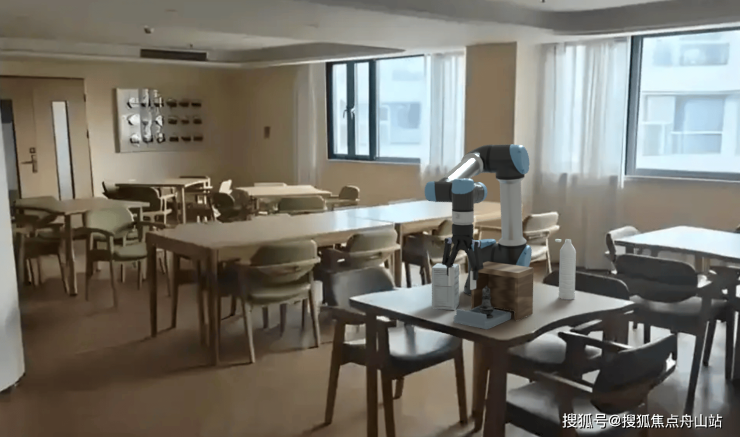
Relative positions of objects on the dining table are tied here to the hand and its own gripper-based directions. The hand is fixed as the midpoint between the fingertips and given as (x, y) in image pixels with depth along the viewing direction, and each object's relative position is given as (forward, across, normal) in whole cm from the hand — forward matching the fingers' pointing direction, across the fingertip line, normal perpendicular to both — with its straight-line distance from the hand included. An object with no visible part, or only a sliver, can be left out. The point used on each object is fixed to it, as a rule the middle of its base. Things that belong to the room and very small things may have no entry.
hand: (462, 287), depth 231 cm
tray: (+15, 0, +14) cm, 21 cm away
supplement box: (+16, -22, +22) cm, 35 cm away
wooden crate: (+15, 0, +28) cm, 32 cm away
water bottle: (+16, +9, +64) cm, 66 cm away
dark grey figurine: (+15, 0, +16) cm, 22 cm away
